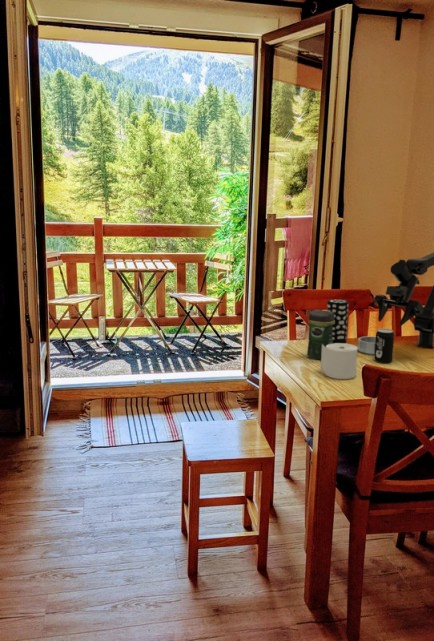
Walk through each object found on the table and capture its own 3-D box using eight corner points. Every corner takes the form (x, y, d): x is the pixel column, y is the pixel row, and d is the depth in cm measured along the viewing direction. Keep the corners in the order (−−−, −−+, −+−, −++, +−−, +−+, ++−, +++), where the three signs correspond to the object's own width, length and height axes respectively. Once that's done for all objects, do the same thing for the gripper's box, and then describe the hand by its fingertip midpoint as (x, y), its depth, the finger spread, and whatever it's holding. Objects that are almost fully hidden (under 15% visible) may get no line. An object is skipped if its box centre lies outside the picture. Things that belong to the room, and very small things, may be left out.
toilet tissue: (357, 380, 183) (359, 351, 181) (321, 378, 185) (322, 350, 183) (354, 370, 194) (356, 343, 191) (320, 369, 196) (321, 342, 193)
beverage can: (393, 364, 201) (395, 332, 199) (374, 363, 203) (376, 332, 200) (391, 359, 208) (393, 328, 205) (373, 358, 209) (375, 327, 206)
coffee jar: (335, 357, 210) (338, 310, 206) (327, 362, 204) (329, 313, 200) (312, 353, 216) (314, 307, 212) (304, 357, 209) (305, 310, 205)
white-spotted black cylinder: (342, 353, 215) (344, 303, 211) (322, 350, 220) (324, 301, 215) (348, 348, 222) (351, 300, 218) (329, 345, 227) (331, 298, 222)
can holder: (359, 346, 226) (360, 335, 225) (388, 349, 221) (389, 338, 220) (354, 353, 215) (355, 341, 214) (384, 356, 211) (385, 344, 210)
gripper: (375, 274, 211) (359, 309, 208) (419, 280, 197) (402, 317, 194) (388, 289, 218) (372, 322, 215) (431, 295, 204) (415, 331, 201)
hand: (389, 323), depth 206 cm, fingers open, 9 cm apart
